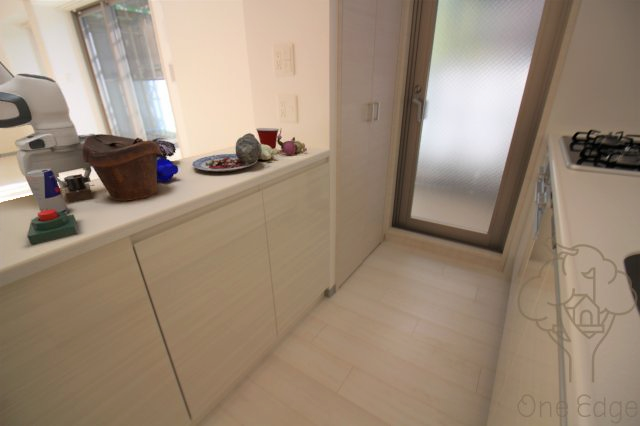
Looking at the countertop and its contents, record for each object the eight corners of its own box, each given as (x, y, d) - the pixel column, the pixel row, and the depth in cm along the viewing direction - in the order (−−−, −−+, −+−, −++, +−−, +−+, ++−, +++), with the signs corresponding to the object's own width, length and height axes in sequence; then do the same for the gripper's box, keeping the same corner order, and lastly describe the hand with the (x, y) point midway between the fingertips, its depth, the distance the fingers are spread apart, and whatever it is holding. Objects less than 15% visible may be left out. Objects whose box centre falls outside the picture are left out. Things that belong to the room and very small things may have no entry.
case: (171, 197, 88) (158, 137, 80) (92, 209, 80) (68, 144, 72) (170, 180, 102) (158, 128, 95) (102, 189, 94) (84, 133, 87)
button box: (31, 245, 63) (23, 228, 61) (34, 231, 69) (27, 216, 67) (77, 233, 68) (71, 218, 66) (76, 222, 73) (70, 207, 72)
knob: (71, 191, 85) (66, 179, 83) (65, 188, 87) (60, 176, 85) (88, 187, 88) (84, 175, 86) (82, 184, 90) (78, 172, 89)
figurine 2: (296, 148, 148) (295, 136, 145) (290, 153, 142) (288, 141, 139) (282, 148, 151) (281, 136, 148) (276, 153, 144) (274, 140, 141)
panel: (62, 205, 83) (58, 194, 82) (62, 196, 89) (59, 186, 88) (98, 198, 88) (95, 188, 87) (96, 190, 94) (93, 181, 93)
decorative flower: (126, 157, 112) (143, 140, 124) (148, 180, 119) (162, 162, 131) (156, 143, 109) (170, 127, 121) (177, 168, 116) (188, 150, 128)
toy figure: (153, 157, 94) (127, 153, 101) (160, 185, 97) (134, 180, 104) (178, 153, 101) (152, 150, 108) (183, 179, 105) (158, 175, 112)
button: (40, 223, 65) (36, 216, 64) (40, 218, 67) (37, 211, 66) (58, 219, 66) (55, 212, 66) (58, 214, 69) (55, 208, 68)
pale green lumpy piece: (283, 160, 131) (261, 157, 139) (284, 145, 129) (261, 142, 138) (261, 161, 120) (238, 158, 129) (261, 144, 119) (238, 142, 127)
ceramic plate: (270, 162, 125) (269, 155, 124) (227, 179, 104) (226, 171, 103) (225, 156, 136) (224, 149, 134) (178, 170, 115) (177, 162, 114)
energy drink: (73, 212, 79) (56, 169, 74) (49, 220, 74) (30, 175, 69) (62, 208, 81) (45, 167, 76) (38, 216, 76) (19, 172, 71)
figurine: (310, 125, 140) (294, 127, 127) (311, 153, 144) (295, 157, 132) (291, 125, 144) (274, 126, 132) (292, 151, 149) (275, 155, 136)
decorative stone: (238, 124, 123) (262, 125, 125) (240, 146, 129) (262, 147, 130) (232, 143, 106) (260, 144, 107) (235, 167, 111) (261, 168, 113)
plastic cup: (284, 151, 143) (283, 127, 138) (272, 156, 134) (271, 130, 129) (266, 150, 147) (264, 125, 142) (253, 154, 138) (251, 128, 133)
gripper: (94, 131, 91) (108, 174, 97) (6, 142, 75) (28, 192, 81) (104, 133, 88) (118, 177, 94) (14, 145, 72) (37, 197, 78)
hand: (75, 184), depth 87 cm, fingers closed on knob, 4 cm apart
